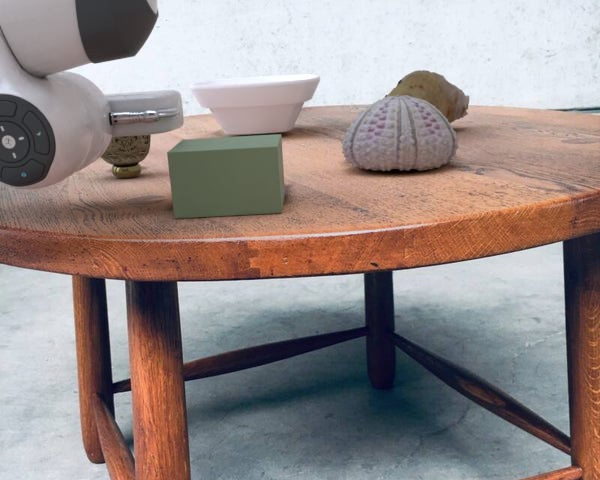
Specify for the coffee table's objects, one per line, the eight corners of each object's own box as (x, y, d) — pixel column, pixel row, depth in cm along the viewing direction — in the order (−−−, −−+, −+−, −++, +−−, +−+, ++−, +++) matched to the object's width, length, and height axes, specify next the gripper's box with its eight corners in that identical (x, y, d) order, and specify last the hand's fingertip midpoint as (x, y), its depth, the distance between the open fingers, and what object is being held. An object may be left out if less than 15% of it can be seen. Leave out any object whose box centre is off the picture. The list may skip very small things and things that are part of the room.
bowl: (186, 146, 137) (180, 87, 134) (204, 131, 156) (199, 79, 153) (321, 139, 136) (318, 79, 133) (323, 125, 155) (321, 72, 152)
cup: (92, 176, 113) (83, 109, 110) (150, 170, 115) (142, 104, 112) (102, 183, 106) (92, 113, 103) (163, 177, 108) (155, 107, 105)
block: (174, 218, 83) (166, 152, 81) (188, 199, 93) (182, 139, 90) (281, 213, 83) (277, 146, 81) (285, 194, 92) (281, 134, 90)
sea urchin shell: (358, 160, 113) (355, 92, 110) (466, 158, 108) (467, 88, 105) (328, 177, 101) (325, 102, 98) (449, 176, 97) (449, 98, 94)
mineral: (407, 82, 114) (337, 97, 119) (421, 154, 117) (352, 166, 122) (465, 56, 135) (404, 69, 140) (475, 118, 139) (414, 129, 143)
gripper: (170, 79, 82) (189, 72, 94) (-52, 93, 82) (-3, 84, 95) (177, 150, 84) (196, 134, 97) (-38, 163, 85) (8, 146, 98)
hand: (96, 110), depth 96 cm, fingers open, 8 cm apart
